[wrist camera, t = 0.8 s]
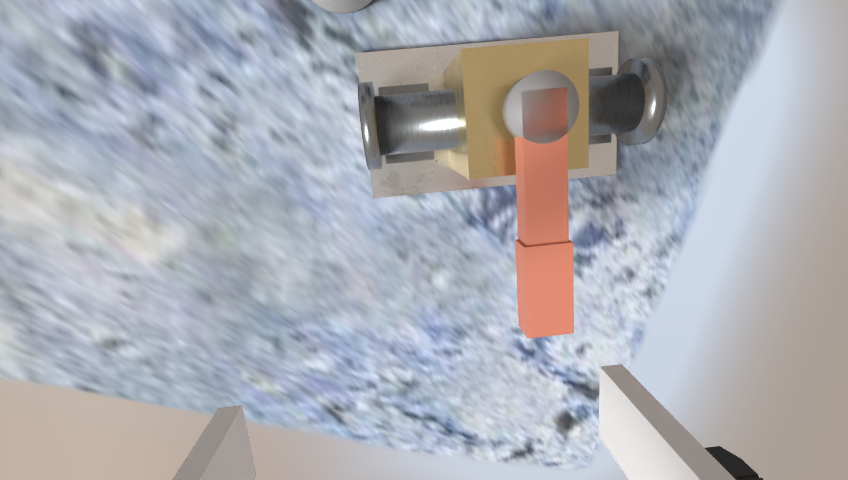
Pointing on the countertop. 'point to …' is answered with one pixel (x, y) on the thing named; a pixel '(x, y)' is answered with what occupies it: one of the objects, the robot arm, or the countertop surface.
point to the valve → (496, 109)
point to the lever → (543, 199)
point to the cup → (342, 5)
